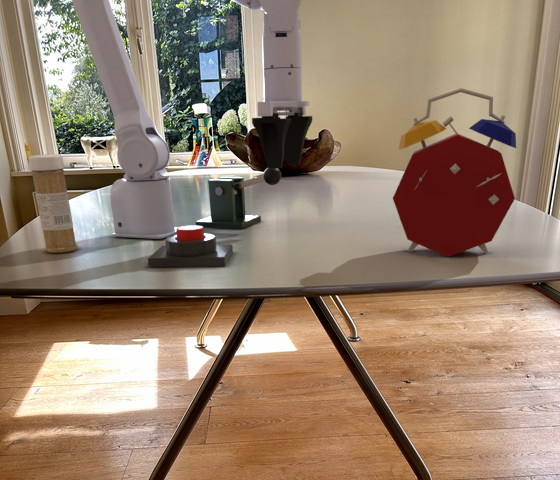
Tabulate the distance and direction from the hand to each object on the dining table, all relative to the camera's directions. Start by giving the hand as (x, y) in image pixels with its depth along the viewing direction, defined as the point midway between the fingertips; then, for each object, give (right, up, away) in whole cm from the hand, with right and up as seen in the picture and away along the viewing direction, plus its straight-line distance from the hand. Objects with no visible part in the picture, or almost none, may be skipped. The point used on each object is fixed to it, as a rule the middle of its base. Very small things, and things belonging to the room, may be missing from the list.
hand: (284, 165), depth 94 cm
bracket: (-10, -6, +12) cm, 17 cm away
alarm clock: (+22, -17, -15) cm, 31 cm away
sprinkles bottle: (-33, -15, -5) cm, 37 cm away
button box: (-13, -17, -13) cm, 25 cm away
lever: (-6, -1, +8) cm, 10 cm away
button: (-13, -15, -15) cm, 24 cm away
